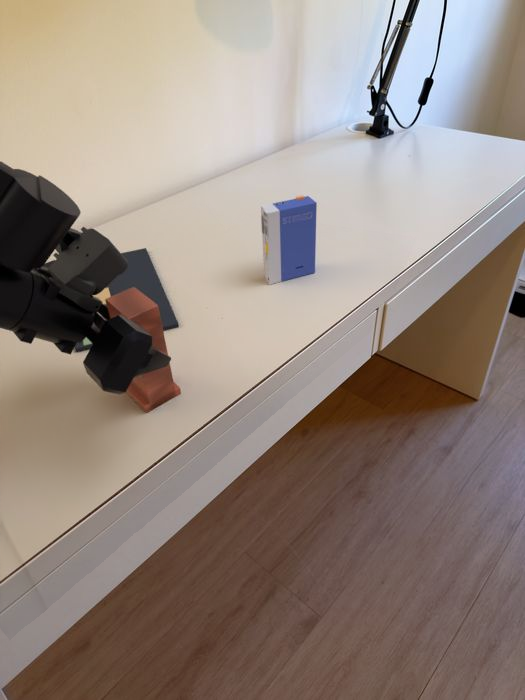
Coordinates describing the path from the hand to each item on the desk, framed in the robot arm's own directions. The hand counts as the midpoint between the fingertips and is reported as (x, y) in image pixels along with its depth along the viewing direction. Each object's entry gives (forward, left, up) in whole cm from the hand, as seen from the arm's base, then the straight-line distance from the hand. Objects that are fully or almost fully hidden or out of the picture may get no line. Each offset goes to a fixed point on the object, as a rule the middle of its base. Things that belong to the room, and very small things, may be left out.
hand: (146, 342), depth 59 cm
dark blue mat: (+10, +21, -7) cm, 25 cm away
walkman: (+30, +3, -7) cm, 31 cm away
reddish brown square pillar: (-1, 0, -7) cm, 7 cm away
